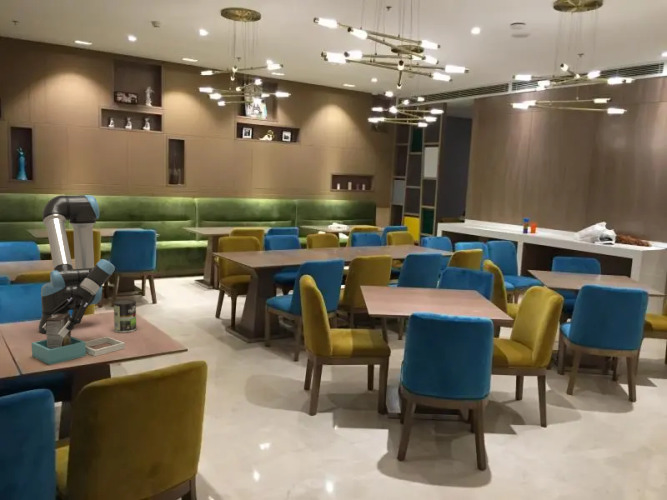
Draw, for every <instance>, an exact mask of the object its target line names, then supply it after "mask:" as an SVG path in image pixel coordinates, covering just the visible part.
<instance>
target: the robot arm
mask: <svg viewBox="0 0 667 500" xmlns="http://www.w3.org/2000/svg"><path fill="white" fill-rule="evenodd" d="M41 218H42V224H43V226H45V227H46V232H47V238H48V244H49V249H50V255H51V259H52V265H53V270H50V273H49V279H50V280H49V282H46V283H44V284H42V286H41V288H40V297H41V318H40V321H39V325H38V332H39V333H41V334H45V335H47V332H46V319H48V318H49V317H51V316H52V315H54V314H70V311H72V314H71V315H70V321H68V322H67V323H66V325H65V326H64V327H63V328H62V330H61V331H60V332H59V333H58V334H59V335H60V336H62V337H63V338H64V337H65V336H66V334H67V333H68V332H69V331H70V330H71V331H72V330H73V329H74V328H75V327H74V326H75V325H77V324H78V325H79V324H81V322H82V320H83V317H84V315H85V312H86V310H87V309H88V307H89V306H91V305H96V304H98V303H99V302H100V301H101V299H102V294H103V285H104V284H105V283H106V282H107V280H108V279H109V277H111V276H112V275H113V273H114V272H115V269H116V266H114V264H112V263H111V262H110V261H109V260H107V259H103V258H101V259H100V260H99V261H98V262H96V265H95V259H94V258H95V254H94V251H95V250H94V233H93V232H94V230H93V227H94V226H95V224H96V222H97V221H96V220H98V219H99V218H100V208H99V204H98V201H97V199H96V197H95V196H94V195H86V194H77V195H76V194H73V195H72V194H70V195H65V194H61V195H57V196H54V197H52V198H51V199H50V200H49V201H48V202H47V203H46V204H45V206H44V208H43V210H42V217H41ZM67 221H69V224H70V225H71V226H72V227H73V248H74V250H73V252H74V268H73V261H72V258H71V257H72V256H71V251H70V246H69V242H68V241H69V240H68V237H67V231H66V225H65V223H66V222H67Z"/></svg>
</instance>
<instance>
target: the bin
mask: <svg viewBox="0 0 667 500" xmlns="http://www.w3.org/2000/svg"><path fill="white" fill-rule="evenodd" d="M85 342H86V341H84V340H81V339H79V338H77V337H75V336H72V335H71V345H67V346H63V347H58V348H54V349H48V348H47V338H46V339H42V340H38V341H33V342H31V354H32V356H33V357H32V358H34V357H35V359H36V358H37V360H38V359H39V361H40V362H42V363H45V364H47V365H49V366H50V365H51V366H52V365H54V364H55V365H56V364H59V363H63V362H67V361H70V360H74V359H77V358H82V357H86V355H87V353H86V348H85Z"/></svg>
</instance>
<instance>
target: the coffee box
mask: <svg viewBox="0 0 667 500" xmlns="http://www.w3.org/2000/svg"><path fill="white" fill-rule="evenodd" d="M70 316H71V314H70V313H69V314H54V315H52V316H51V317H49V318H48V319H46V332H47V334H46V339H47V348H48V349H54V348H58V347H63V346H67V345H71V336H72V330H70V331H69V332H68V333H67V334H66V336H65V337H64V338H63V337H62V336H60V335H59V334H58V333H59V332H60V331H61V330H62V328H63V327H64V326H65V325H66V323H67V322H68V321H70Z"/></svg>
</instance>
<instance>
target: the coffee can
mask: <svg viewBox="0 0 667 500" xmlns="http://www.w3.org/2000/svg"><path fill="white" fill-rule="evenodd" d="M113 323H114V331H115V332H116V333H123V334H124V333H131V332H135V331H136V330H137V301H136V300H135V299H131V298H130V299H118V300H115V301H113Z"/></svg>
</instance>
